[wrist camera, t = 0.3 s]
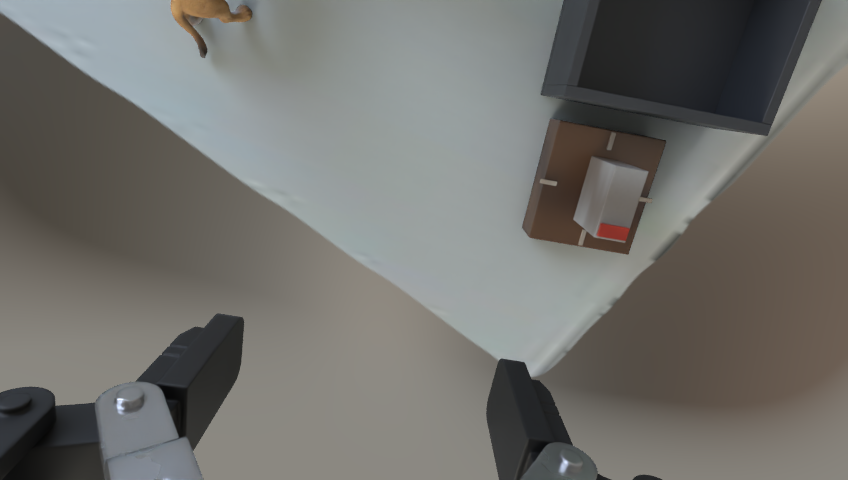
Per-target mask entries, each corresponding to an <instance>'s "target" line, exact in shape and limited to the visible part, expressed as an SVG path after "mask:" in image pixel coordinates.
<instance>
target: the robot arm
mask: <svg viewBox="0 0 848 480" xmlns="http://www.w3.org/2000/svg"><path fill="white" fill-rule="evenodd" d="M243 331H244V320H243V318H242V317H237V316H231V315H225V314H216V315H215V316H214V317H213V319H211V321H210V322H209V323H208V324H207V325H206V326H205V328H200V327H194V328H192V329H190V330H188V331H186V332H184V333H182V334H180V335H179V336H178V337H177V338H176V339H175V340H174V341H173V342H172V343H171V344H170V347H167V349H166V350H165V351H164V352H163V353H162V355H160V356H159V357H158V358H157V359H156V360H155V361H154V362H153V363H152V364H151V366H150V367H149V368H148V369H147V370H146V371H145V372H144V373H143V374H142V375H141V376H140V377H139V378H138V379H137V380H136V381H135V382H129V383H124V384H120V385H117V386H114V387H112V388H110V389H108V390H107V391H105V392H104V393H102V394H101V395H100V396H99V397H98V399H97V400H96V402H95V403H88V404H75V405H61V406H55V396H54V394H53V393H52V392H51V391H49V390H47V389H44V388H39V387H22V388H16V389H11V390H7V391H4V392H1V393H0V480H203V477H202V474H201V472H200V469H199V466H198V464H197V461H196V458H195V456H194V453H193V450H194V449H195V447H196V445H197V444H198V442H199V441H200V439H201V437H202V436H203V434H204V432H205V431H206V429H207V427H208V426H209V424H210V423H211V421H212V419H213V417H214V416H215V414H216V413H217V411H218V409H219V408H220V406H221V404H222V403H223V401H224V399H225V398H226V396H227V395H228V393H229V391H230V390H231V388H232V386H233V385H234V383H235V381H236V379H237V376H238V373H239V370H240V365H241V357H242V343H243ZM486 414H487V423H488V428H489V433H490V438H491V443H492V447H493V452H494V457H495V462H496V467H497V472H498V477H499V480H610V479H608V478H606V477H603V476H601V475H599V474H598V471H597V468H596V465H595V464H594V462H593V461H592V459H591V458H590V457H589V456H588V455H587V454H586V453H584V452H583V451H581V450H580V449H578V448H576V447H575V446H573V444H572V442H571V440H570V438H569V435H568V433H567V430H566V428H565V426H564V423H563V421H562V419H561V416H559V412H558V410H557V407H556V406H555V402H554V400H553V398H552V396H551V393H550V392H549V391H548V389H547V388H546V387H545V386H544V385H543V384H542V383H541V382H540V381H538V380H532V379H531V377H530V375H529V372H528V370H527V367H526V364H525V363H524V362H520V361H513V360H507V359H500V360H499V362H498V365H497V368H496V372H495V376H494V379H493V383H492V387H491V390H490V394H489V398H488V402H487V413H486ZM633 480H662V479H660V478H657V477H654V476H650V475H639V476H636V477H635V478H634V479H633Z"/></svg>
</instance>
